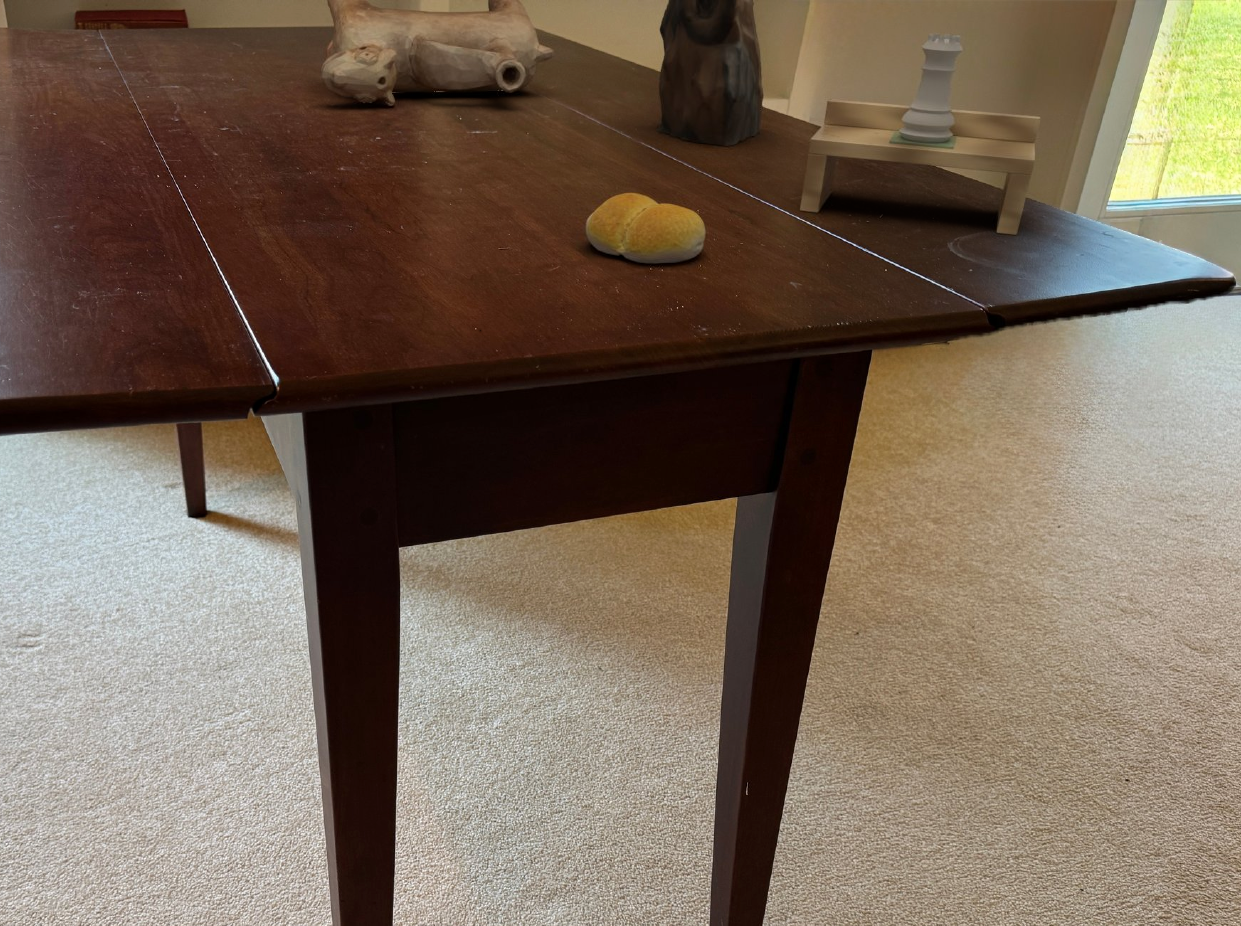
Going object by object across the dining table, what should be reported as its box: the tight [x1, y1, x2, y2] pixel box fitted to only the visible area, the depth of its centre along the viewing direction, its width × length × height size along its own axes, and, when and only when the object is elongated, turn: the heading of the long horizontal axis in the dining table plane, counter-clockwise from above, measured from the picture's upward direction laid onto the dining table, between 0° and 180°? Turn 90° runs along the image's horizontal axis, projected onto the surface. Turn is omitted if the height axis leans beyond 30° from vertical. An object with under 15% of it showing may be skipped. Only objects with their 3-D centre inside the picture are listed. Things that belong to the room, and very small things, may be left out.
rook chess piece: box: [899, 33, 964, 143], centre depth 95 cm, size 4×4×8 cm
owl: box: [656, 0, 765, 147], centre depth 125 cm, size 13×13×20 cm
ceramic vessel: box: [320, 0, 556, 104], centre depth 146 cm, size 13×31×25 cm
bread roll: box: [585, 192, 707, 264], centre depth 87 cm, size 8×9×4 cm
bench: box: [799, 98, 1041, 236], centre depth 99 cm, size 18×9×8 cm, turn 69°
